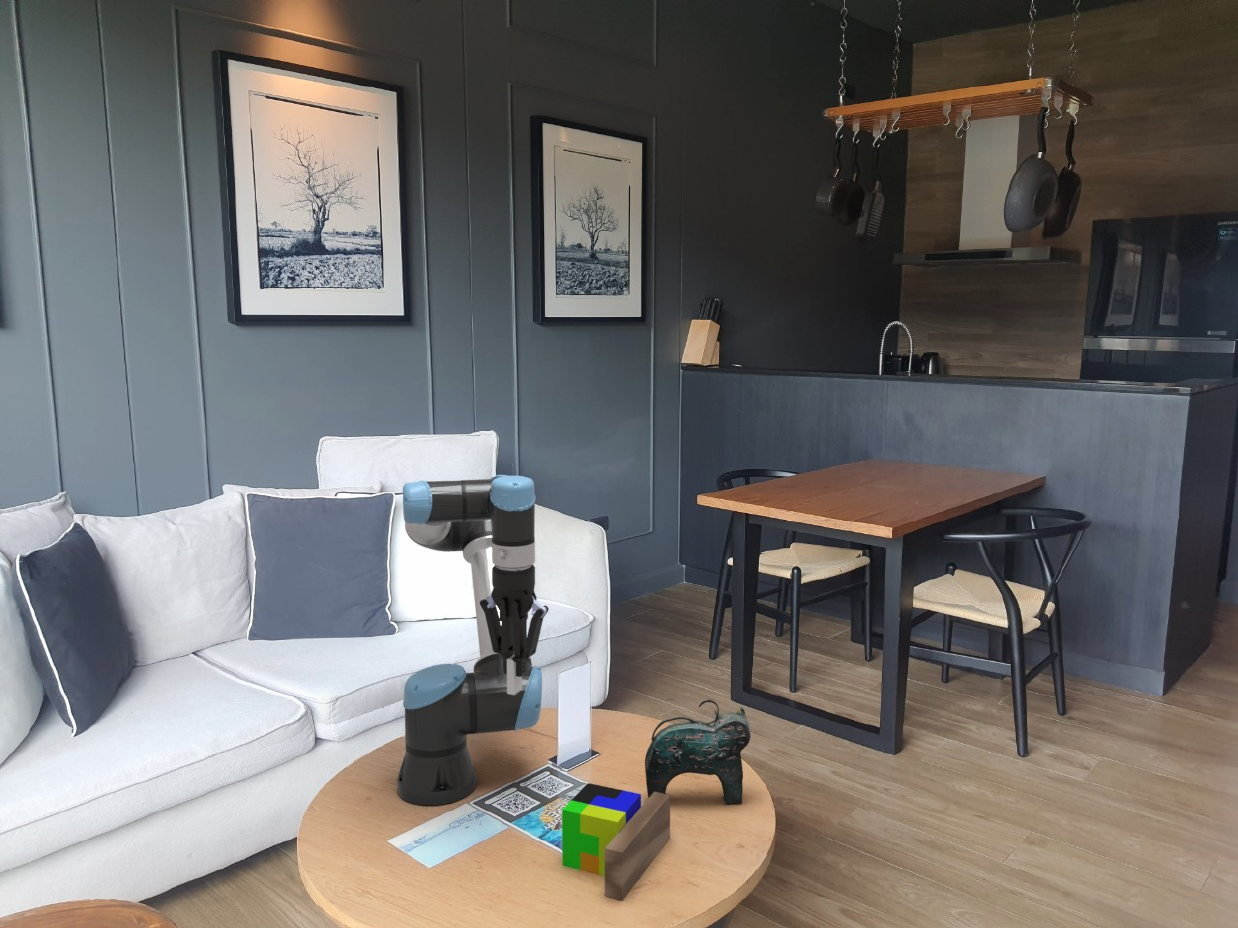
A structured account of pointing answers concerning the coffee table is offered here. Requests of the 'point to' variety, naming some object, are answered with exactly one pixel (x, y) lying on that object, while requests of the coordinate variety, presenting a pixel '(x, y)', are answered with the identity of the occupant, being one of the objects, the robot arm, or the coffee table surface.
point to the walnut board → (636, 845)
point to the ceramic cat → (700, 752)
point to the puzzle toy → (594, 825)
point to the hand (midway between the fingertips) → (514, 691)
